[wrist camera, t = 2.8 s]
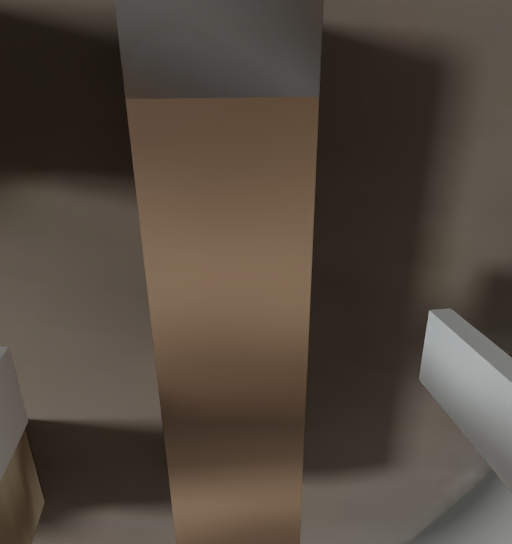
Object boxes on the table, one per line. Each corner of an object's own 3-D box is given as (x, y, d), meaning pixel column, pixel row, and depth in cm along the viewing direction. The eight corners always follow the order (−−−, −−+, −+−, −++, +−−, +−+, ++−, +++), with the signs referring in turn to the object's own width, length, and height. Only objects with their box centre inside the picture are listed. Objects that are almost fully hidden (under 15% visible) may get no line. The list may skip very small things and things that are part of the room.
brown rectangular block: (138, 12, 14) (109, -46, 8) (261, 13, 15) (325, -39, 9) (183, 475, 22) (186, 632, 16) (262, 464, 23) (296, 612, 16)
